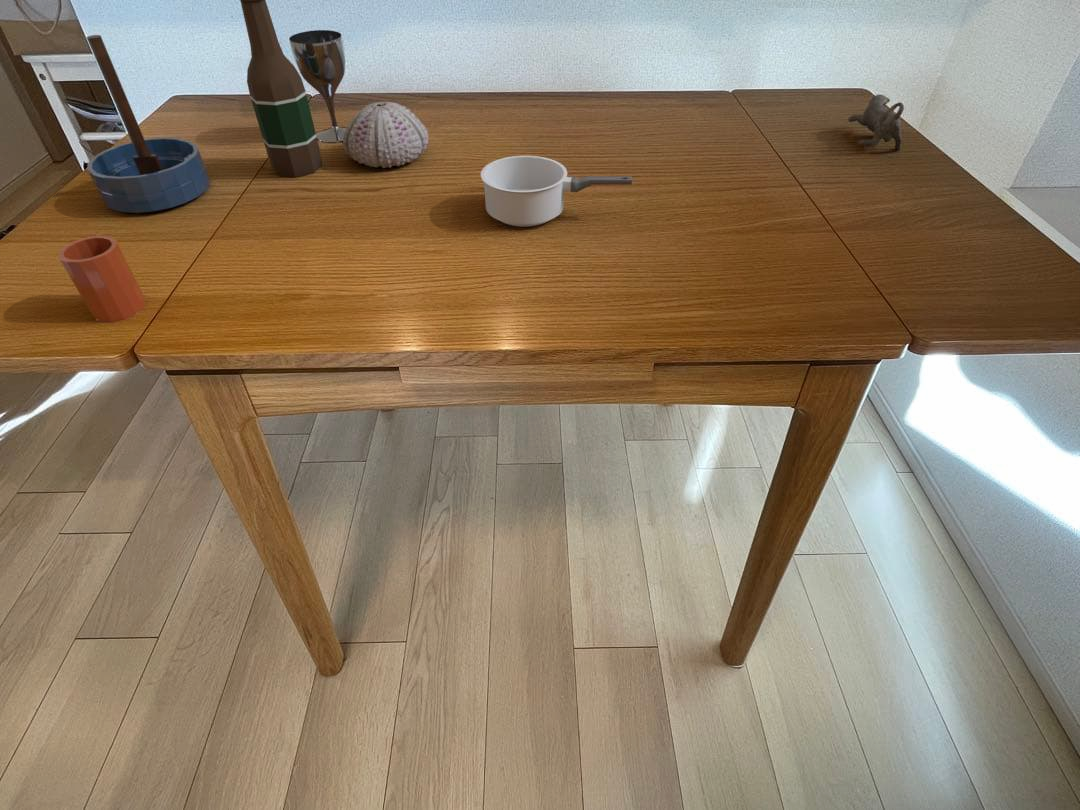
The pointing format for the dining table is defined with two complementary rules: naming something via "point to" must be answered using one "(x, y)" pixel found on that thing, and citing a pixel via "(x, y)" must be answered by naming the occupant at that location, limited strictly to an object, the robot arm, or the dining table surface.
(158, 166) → the spatula
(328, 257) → the dining table surface
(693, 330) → the dining table surface
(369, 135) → the sea urchin shell
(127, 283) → the utensil pot
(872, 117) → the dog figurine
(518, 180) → the saucepan
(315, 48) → the wine glass
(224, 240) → the dining table surface
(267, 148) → the beer bottle
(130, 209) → the bowl
